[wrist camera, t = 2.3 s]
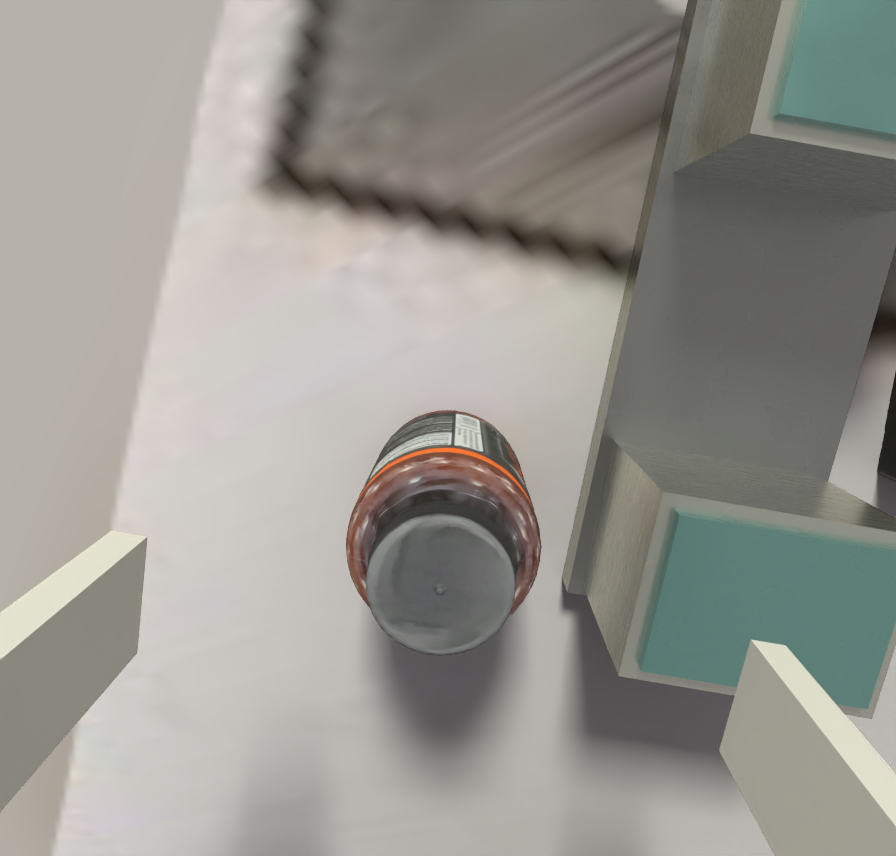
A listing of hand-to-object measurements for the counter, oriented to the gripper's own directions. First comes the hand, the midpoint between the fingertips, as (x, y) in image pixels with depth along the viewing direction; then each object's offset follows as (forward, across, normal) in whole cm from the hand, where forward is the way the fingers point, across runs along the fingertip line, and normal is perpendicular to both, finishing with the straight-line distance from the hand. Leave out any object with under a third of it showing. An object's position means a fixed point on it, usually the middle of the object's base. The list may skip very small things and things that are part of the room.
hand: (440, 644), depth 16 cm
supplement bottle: (+15, 0, 0) cm, 15 cm away
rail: (+15, -10, -8) cm, 19 cm away
